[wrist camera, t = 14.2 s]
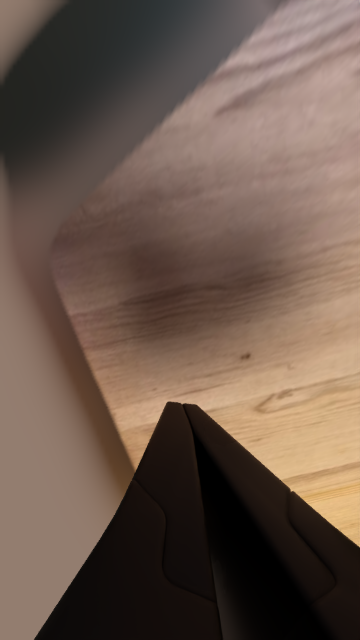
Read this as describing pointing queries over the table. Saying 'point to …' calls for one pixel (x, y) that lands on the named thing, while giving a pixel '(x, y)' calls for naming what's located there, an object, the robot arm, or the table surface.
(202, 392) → the table surface
